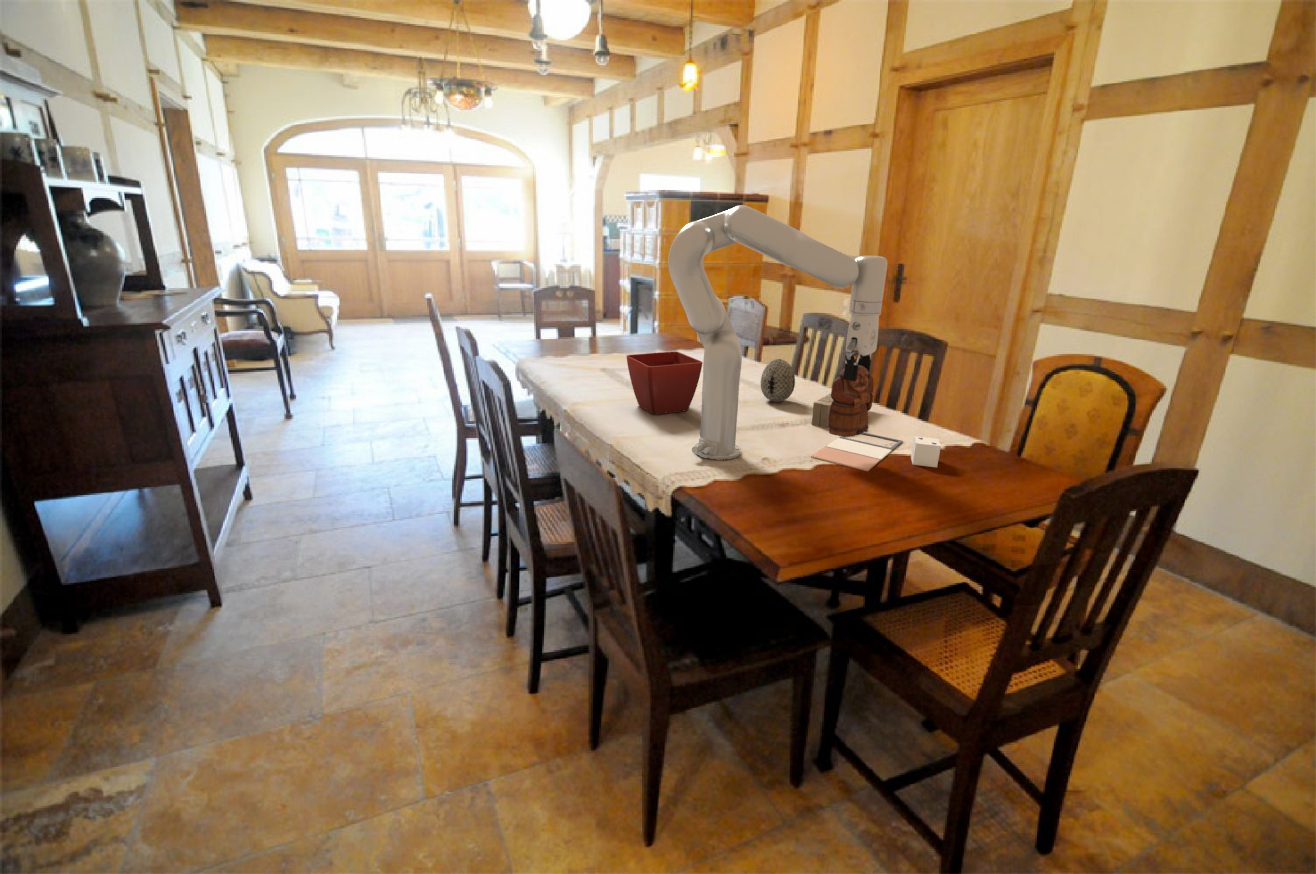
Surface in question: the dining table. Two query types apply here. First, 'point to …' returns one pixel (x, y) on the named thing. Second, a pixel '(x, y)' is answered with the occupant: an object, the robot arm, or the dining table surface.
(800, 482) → the dining table surface
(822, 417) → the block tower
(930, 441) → the die
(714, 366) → the robot arm
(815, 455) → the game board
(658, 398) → the plant pot
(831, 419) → the wooden figurine
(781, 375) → the decorative egg
